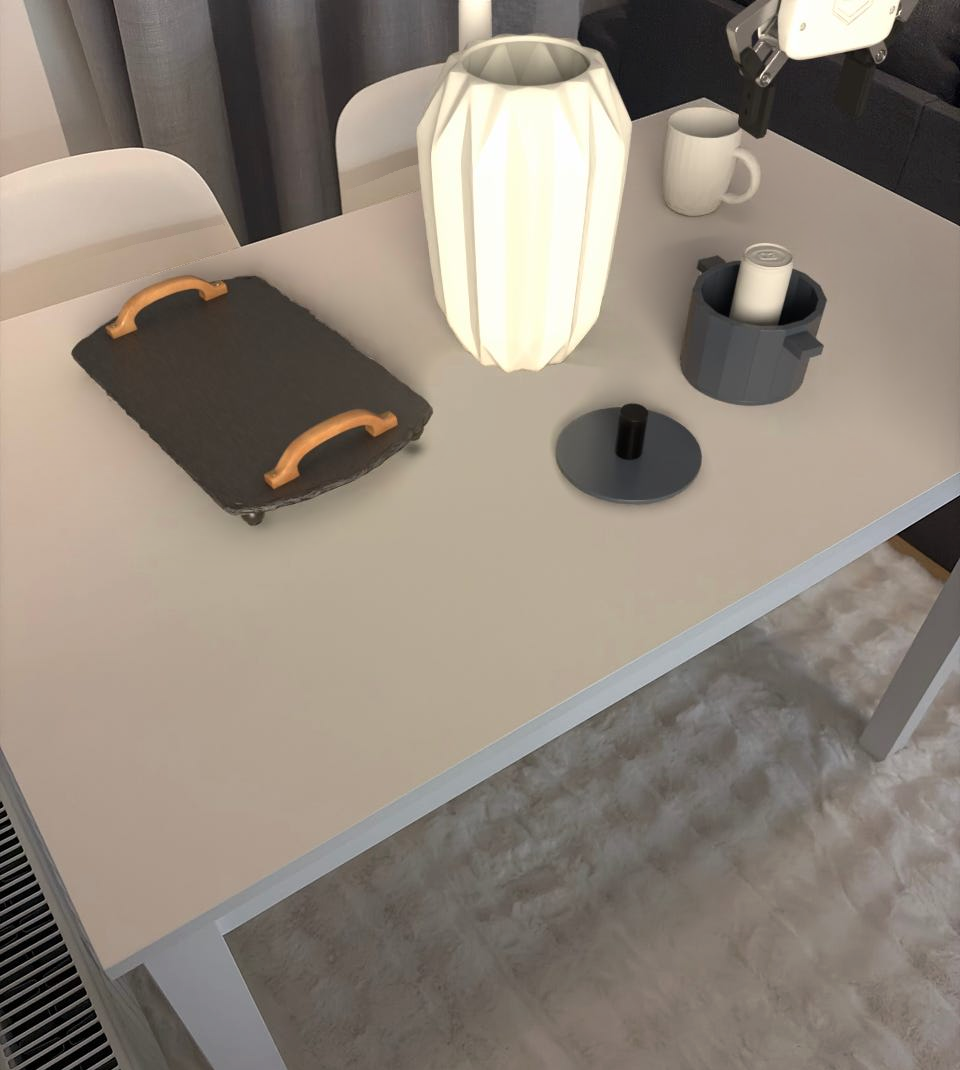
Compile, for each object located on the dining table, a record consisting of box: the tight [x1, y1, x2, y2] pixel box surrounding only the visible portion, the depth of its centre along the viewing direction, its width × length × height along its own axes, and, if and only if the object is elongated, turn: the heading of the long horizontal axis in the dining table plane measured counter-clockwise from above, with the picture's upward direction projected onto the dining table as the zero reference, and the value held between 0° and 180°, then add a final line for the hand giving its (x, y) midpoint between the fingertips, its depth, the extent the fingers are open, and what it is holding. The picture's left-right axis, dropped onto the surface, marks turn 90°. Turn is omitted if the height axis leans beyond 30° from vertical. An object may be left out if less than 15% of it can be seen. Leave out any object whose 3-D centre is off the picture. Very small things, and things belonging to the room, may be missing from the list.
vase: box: [416, 32, 633, 374], centre depth 91 cm, size 20×20×28 cm
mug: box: [661, 106, 762, 217], centre depth 116 cm, size 13×9×10 cm
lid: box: [555, 402, 703, 505], centre depth 87 cm, size 14×14×6 cm
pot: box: [679, 254, 828, 406], centre depth 95 cm, size 13×18×8 cm
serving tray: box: [70, 274, 434, 526], centre depth 94 cm, size 39×23×6 cm, turn 40°
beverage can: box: [729, 242, 795, 326], centre depth 93 cm, size 5×5×12 cm
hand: (799, 121), depth 80 cm, fingers open, 9 cm apart
